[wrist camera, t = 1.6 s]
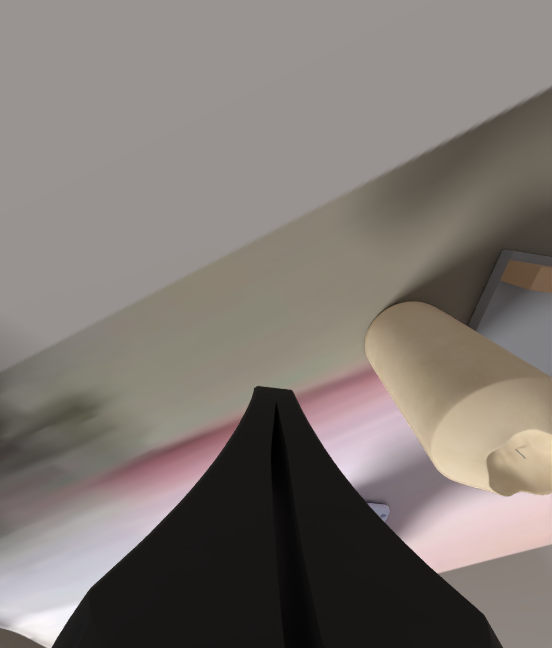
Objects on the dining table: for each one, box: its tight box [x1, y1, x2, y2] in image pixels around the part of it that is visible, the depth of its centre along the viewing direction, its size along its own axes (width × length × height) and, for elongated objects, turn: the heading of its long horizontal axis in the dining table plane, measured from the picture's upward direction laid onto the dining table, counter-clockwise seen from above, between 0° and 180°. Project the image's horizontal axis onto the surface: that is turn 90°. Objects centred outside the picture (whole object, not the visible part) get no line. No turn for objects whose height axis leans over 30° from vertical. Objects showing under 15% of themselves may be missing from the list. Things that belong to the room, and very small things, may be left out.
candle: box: [365, 301, 552, 497], centre depth 14 cm, size 6×6×10 cm
